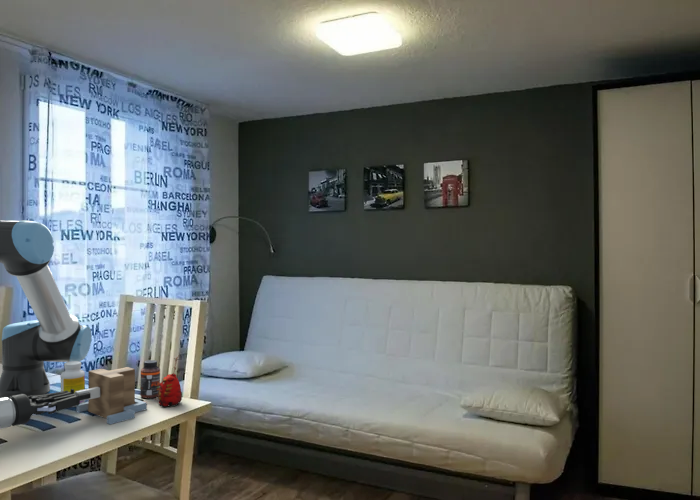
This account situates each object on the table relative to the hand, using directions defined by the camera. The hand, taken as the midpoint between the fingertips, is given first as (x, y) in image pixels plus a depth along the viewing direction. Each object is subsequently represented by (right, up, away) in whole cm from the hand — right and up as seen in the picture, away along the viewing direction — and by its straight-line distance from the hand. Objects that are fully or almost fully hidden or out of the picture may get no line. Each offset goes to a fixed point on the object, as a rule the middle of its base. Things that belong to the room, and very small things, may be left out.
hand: (98, 391), depth 163 cm
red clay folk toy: (+17, -7, +12) cm, 22 cm away
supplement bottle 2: (+8, -7, +20) cm, 23 cm away
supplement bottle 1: (-12, -7, +11) cm, 18 cm away
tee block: (+3, -7, +5) cm, 9 cm away
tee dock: (+3, -7, +4) cm, 9 cm away
